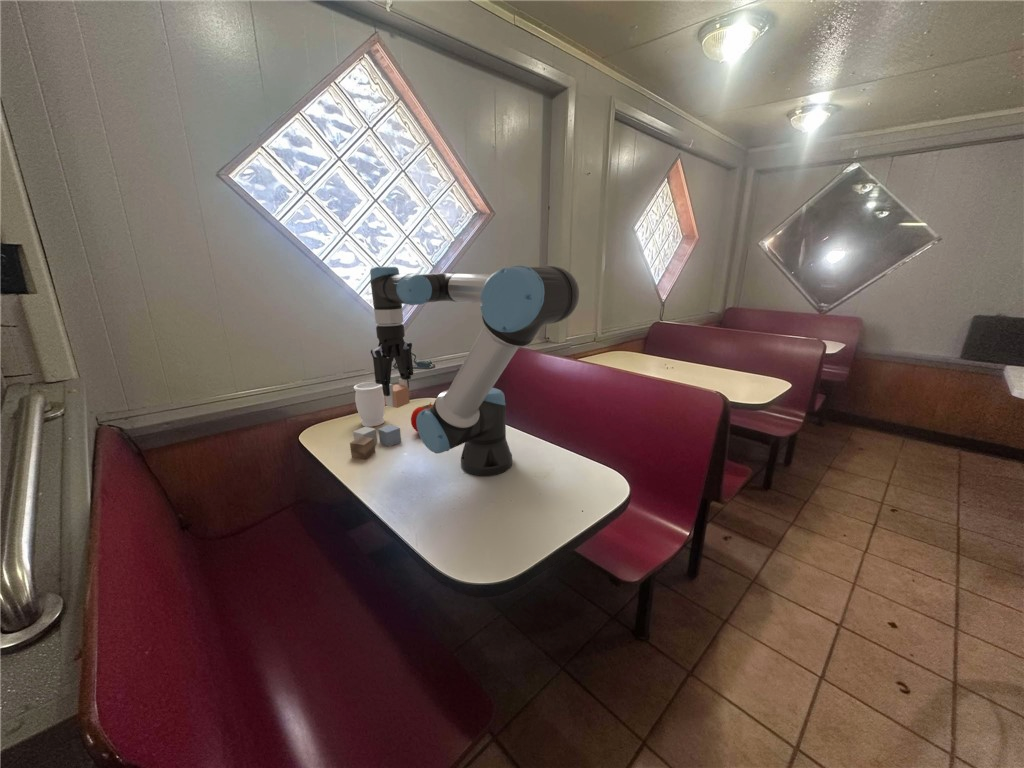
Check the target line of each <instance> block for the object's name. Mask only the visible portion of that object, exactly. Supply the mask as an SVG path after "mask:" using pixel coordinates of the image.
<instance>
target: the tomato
mask: <svg viewBox="0 0 1024 768" xmlns="http://www.w3.org/2000/svg"><path fill="white" fill-rule="evenodd" d="M432 406H433V404H432V402H430V403H429V404H427V405H422V406H418V407H416V408H415V409H414V410H413V411H412V413H411V417H410V423H411V426H412V428H413V429H414V431H416V432H417V433H418V430H417V425H416V419H417V415H418V414H419V412H421V411H423V410H424V409H429V408H431V407H432Z"/></svg>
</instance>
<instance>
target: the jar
mask: <svg viewBox="0 0 1024 768" xmlns="http://www.w3.org/2000/svg"><path fill="white" fill-rule="evenodd" d="M353 390H354V391H355V393H354V395H355V397H354V398H355V399H354V400H355V401H354V402H355V406H356V410H357V412H358V415H359V417H360V420H361V423H360V424H361V426H363V427H365V426H366V427H370V428H373V427H378V426H380V425H383V424H384V422H385V419H384V416H385V413H386V412H385V410H386V408H385V406H386V405H385V400H384V394H383V387H382V385H381V384H377V383H376V381H364V382H359V383H358V384H357V383H356V384H355V385H354V386H353Z"/></svg>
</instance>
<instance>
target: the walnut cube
mask: <svg viewBox="0 0 1024 768" xmlns="http://www.w3.org/2000/svg"><path fill="white" fill-rule="evenodd" d="M349 447H350V453H351V454H350V455H351V458H352V459H357V460H358V459H359V460H368V458H370V457H371V456H373V455H375V454H376V446H375V444H374V438H368V437H359V438H357V439H355V440H352V441H351V442H349Z"/></svg>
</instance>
